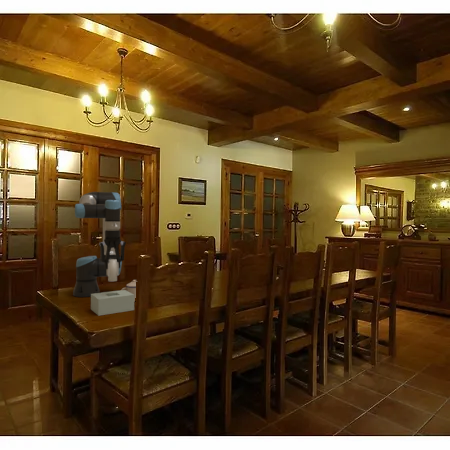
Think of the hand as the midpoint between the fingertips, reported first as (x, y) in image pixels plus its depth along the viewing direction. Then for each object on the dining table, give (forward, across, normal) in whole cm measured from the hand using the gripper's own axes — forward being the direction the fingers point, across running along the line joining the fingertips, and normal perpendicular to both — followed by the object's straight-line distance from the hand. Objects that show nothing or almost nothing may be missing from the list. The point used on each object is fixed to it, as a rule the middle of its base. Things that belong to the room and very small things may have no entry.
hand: (112, 274), depth 176 cm
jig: (+18, 0, 0) cm, 18 cm away
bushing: (+3, 0, 0) cm, 3 cm away
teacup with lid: (+18, +16, +14) cm, 28 cm away
